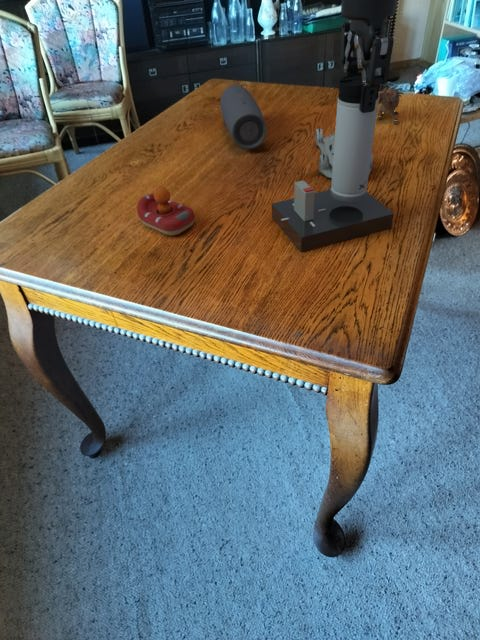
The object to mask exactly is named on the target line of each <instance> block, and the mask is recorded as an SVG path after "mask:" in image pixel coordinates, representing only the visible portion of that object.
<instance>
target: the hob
mask: <svg viewBox="0 0 480 640" xmlns="http://www.w3.org/2000/svg"><path fill="white" fill-rule="evenodd" d="M394 215H395V213H394V212H393V211H392V210H390V209H389V208H388V207H386V206H385V205H384V204H383V203H381V201H380V200H378V199H377V198H376V197H374V196H373V195H372V194H370V193H369V192H368V191H367V192H366V196H365V198H364V199H362V200H360V201H358V202H352V203H346V202H340V201H338V200H335V199H334V198H333V197H332V196H331V188H330V189H327V190H322V191H318V192H315V198H314V218H313V220H309V221H305V222H304V221H303V220H302V218H301V217H300V216H299V215H298V214H297V213H296V212H295V211H294V197H293V198H289V199H285V200H281V201H276V202H272V203H271V218H272V220H273V221H274V222H275V223H276V224H277V226H278V227H279V228H280V229H281V230H282V231H283V232H284V234H285V236H287V238H289V240H290V241H291V242H292V243H293V245H294V246H295V247H296V248H297V249H298V250H299V252H300V253H303V252H304V253H305V252H307V251H312V250H314V249H318V248H323V247H326V246H330V245H335V244H338V243H340V242H345V241H348V240H353V239H356V238H359V237H363V236H367V235H371V234H374V233H378V232H382V231H385V230H390V229H392V227H393V221H394Z"/></svg>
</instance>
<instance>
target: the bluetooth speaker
mask: <svg viewBox="0 0 480 640" xmlns="http://www.w3.org/2000/svg"><path fill="white" fill-rule="evenodd" d="M219 101H220V102H219V106H220V111H221V112H220V113H221V117H222V120H223V122H224V123H223V124H224V125H225V128H226V130H227V132H228V133H229V135H230V137H231V140H232V141H233V143H235V144H236V145H237V146H238V148H241V149H243V150H251V149H252V150H253V149H256V148H258V147H260V146H261V145H262V144H263V143H264V141H265V139H266V137H267V133H268V129H267V122H266V119H265V117H264V115H263V112H262V110H261V108H260V107H259V104H258V102H256V99H255V98H254V97H253V95H252V94H251V93H250V91H249V90H248V89H247V88H245V87H244V86H242V85H240V84H232V85H229V86H227V87H226V88H225V89H224V90H223V91H222V94H221V95H220V100H219Z"/></svg>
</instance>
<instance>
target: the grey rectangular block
mask: <svg viewBox="0 0 480 640" xmlns="http://www.w3.org/2000/svg"><path fill="white" fill-rule="evenodd" d="M293 190H294V191H293V198H294V211H295V212H296V213H297V214H298V215H299V216H300V217H301V218H302V220H303V221H304V222H305V221H309V220H313V218H314V198H315V193H316V191H315V189H314V188H313V187H312V186H311V185H309V184H308V182H306V181H305V180H304V179H303V180H298V181H294V186H293Z"/></svg>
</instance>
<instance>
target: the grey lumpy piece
mask: <svg viewBox="0 0 480 640" xmlns="http://www.w3.org/2000/svg"><path fill="white" fill-rule="evenodd" d="M314 137H315V139H314V141H315V145H316V146H317V147H318V148H319V150H320V153H321V154H320V155H319V156H318V157H319V158H318V170H319V173H321V174H322V175H324V176H325V177H326V178H328V179H331V180H332V169H333V156H334V142H335V133H332V134H329V135H327V136H326V137H324V133H323V129H322V128H316V129H315V136H314ZM373 167H374V154H373V152H372V153H371V161H370V168H369V175H370V174H371V171H372V169H373Z"/></svg>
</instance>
